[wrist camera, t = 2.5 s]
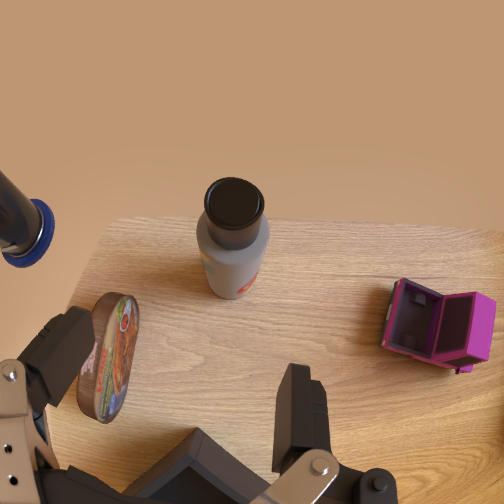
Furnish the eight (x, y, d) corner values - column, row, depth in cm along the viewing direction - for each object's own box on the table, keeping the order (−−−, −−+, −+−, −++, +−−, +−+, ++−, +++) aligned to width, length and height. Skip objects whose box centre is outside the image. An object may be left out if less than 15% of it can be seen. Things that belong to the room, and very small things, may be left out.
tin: (122, 417, 31) (95, 432, 23) (100, 409, 31) (69, 421, 23) (145, 302, 36) (123, 288, 28) (122, 297, 36) (96, 281, 28)
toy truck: (453, 378, 35) (500, 378, 25) (371, 353, 36) (413, 351, 26) (467, 311, 38) (511, 298, 29) (391, 278, 39) (432, 255, 30)
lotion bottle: (263, 271, 38) (297, 189, 19) (237, 309, 36) (247, 260, 17) (225, 246, 39) (224, 147, 20) (198, 283, 37) (169, 208, 18)
